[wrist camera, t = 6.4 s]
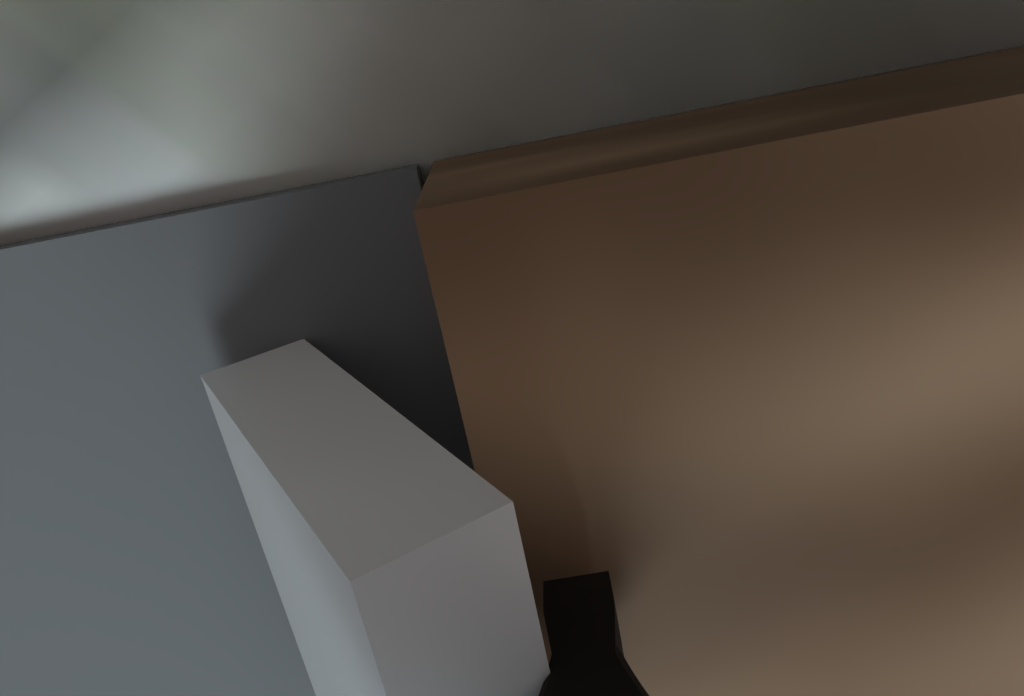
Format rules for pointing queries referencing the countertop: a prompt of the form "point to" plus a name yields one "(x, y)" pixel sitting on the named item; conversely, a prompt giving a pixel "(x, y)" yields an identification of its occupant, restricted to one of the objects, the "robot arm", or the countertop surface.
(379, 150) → the countertop surface
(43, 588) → the mat
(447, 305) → the flat brown box
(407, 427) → the tile
